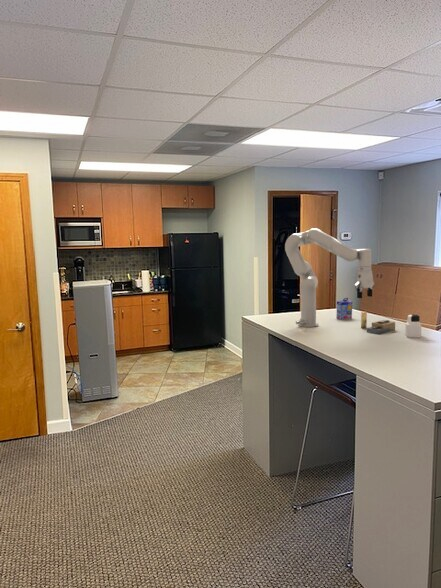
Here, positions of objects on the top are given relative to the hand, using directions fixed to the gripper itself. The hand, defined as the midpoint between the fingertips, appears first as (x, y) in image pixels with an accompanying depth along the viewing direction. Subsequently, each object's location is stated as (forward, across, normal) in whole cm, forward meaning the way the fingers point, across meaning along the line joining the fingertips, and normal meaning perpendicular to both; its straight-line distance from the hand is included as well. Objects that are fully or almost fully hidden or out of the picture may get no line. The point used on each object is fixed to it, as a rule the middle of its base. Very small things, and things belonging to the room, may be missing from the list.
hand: (364, 297), depth 257 cm
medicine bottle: (+20, +2, -31) cm, 36 cm away
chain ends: (+19, 0, -12) cm, 22 cm away
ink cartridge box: (+19, +16, +28) cm, 38 cm away
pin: (+19, 0, 0) cm, 19 cm away
